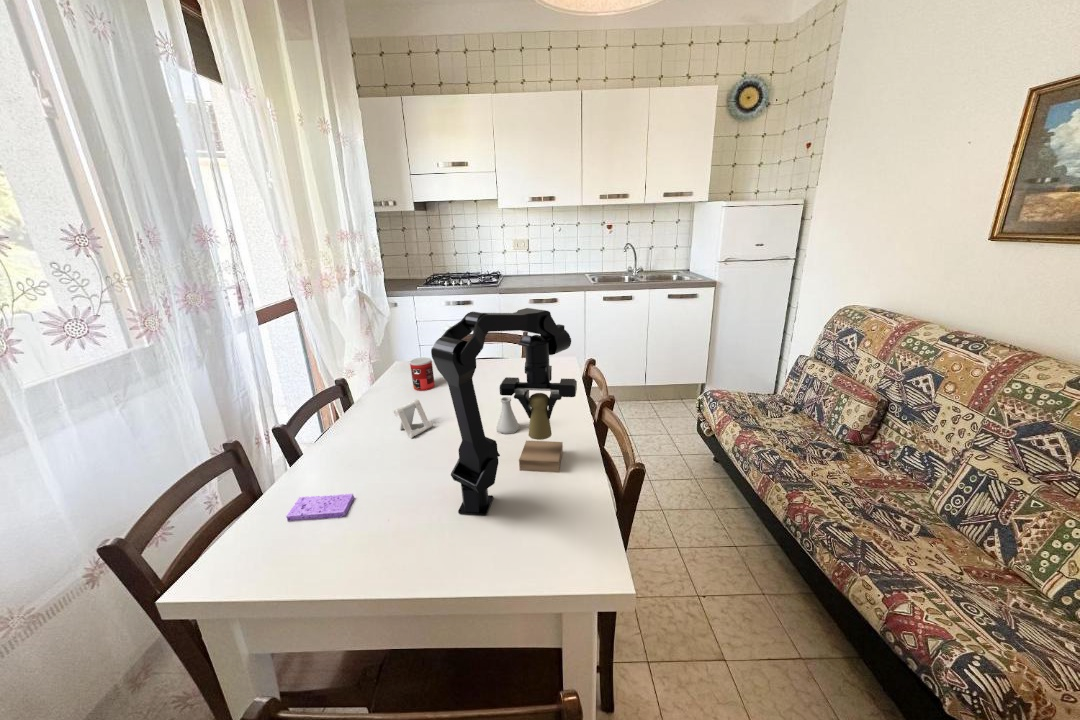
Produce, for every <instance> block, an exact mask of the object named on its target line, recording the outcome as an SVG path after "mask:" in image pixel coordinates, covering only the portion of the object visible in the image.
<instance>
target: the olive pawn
mask: <svg viewBox="0 0 1080 720" xmlns="http://www.w3.org/2000/svg"><path fill="white" fill-rule="evenodd" d="M549 397H550V396H548V395H547V394H546V393H544V392H536V393H533V394H531V395H529V405H530V406H531V418H529V427H528V437H529V438H530V439H533V440H535V441H543V440H547V439H549V438H551V436H552V427H551V419H548V406H549Z"/></svg>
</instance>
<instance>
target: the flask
mask: <svg viewBox="0 0 1080 720" xmlns="http://www.w3.org/2000/svg"><path fill="white" fill-rule="evenodd" d="M511 401H512V398H511V396H510V397H509V396H502V397H501V398H500V403H501V411H500V414H499V418H498V422H497V425H496V433H500V434H504V435H506V434H507V435H509V434H514V433H516V432H517V431H519V430H520V424H519V422H518V419H517V418H516V416H515V413H514V412H513V409H512V406H511Z"/></svg>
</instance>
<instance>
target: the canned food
mask: <svg viewBox="0 0 1080 720" xmlns="http://www.w3.org/2000/svg"><path fill="white" fill-rule="evenodd" d="M409 365H410V373H411V381H412V386H413V389H414V390H415V391H418V392H425V391H430V390H432V389H433V388H434V387H435V377H434V367H433V359H432V357H417V358H413V359H411V360H410V361H409Z"/></svg>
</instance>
